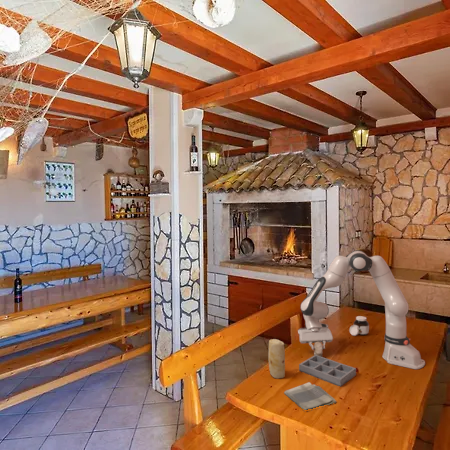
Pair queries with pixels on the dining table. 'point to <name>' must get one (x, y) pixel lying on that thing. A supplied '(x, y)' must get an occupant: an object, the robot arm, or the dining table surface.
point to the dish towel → (309, 396)
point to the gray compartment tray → (327, 370)
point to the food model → (276, 358)
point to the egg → (318, 349)
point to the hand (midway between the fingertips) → (318, 349)
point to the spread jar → (359, 326)
